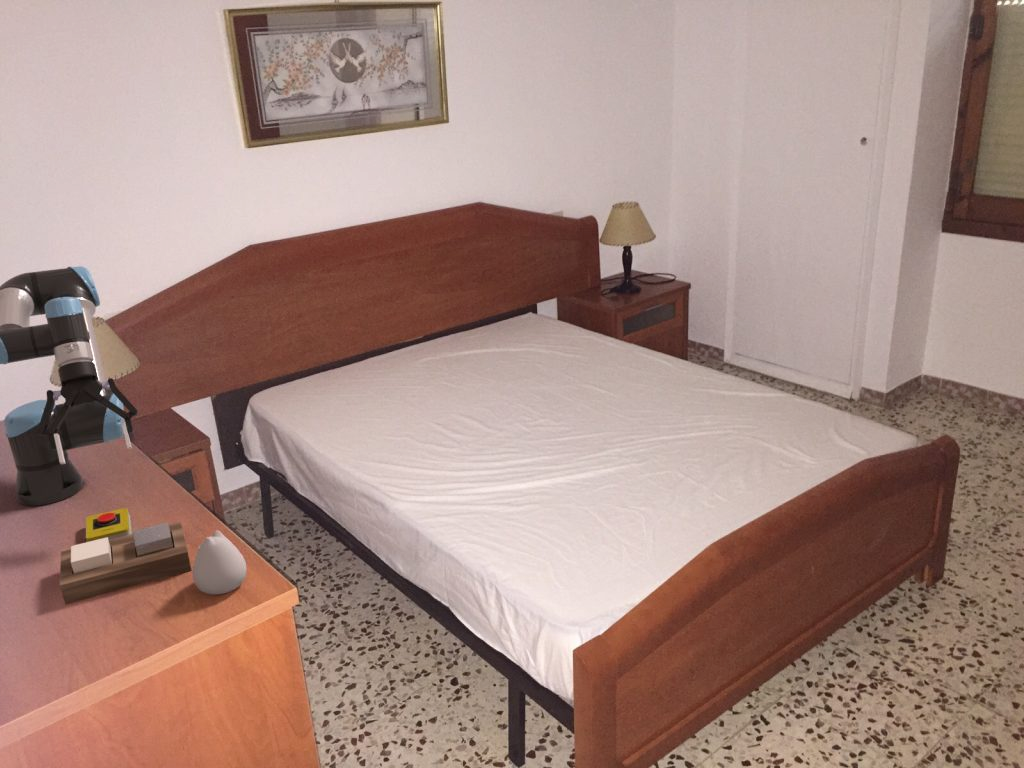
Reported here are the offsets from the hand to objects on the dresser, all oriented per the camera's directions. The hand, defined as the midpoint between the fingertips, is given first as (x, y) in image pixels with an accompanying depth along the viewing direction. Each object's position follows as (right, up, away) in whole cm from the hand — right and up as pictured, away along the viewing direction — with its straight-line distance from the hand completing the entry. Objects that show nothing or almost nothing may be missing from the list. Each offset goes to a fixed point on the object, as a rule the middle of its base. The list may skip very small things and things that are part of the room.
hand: (96, 455), depth 184 cm
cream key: (+5, -21, -12) cm, 25 cm away
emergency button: (0, -19, +7) cm, 20 cm away
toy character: (+33, -25, -15) cm, 44 cm away
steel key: (+16, -19, -7) cm, 26 cm away
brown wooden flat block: (+11, -24, -8) cm, 27 cm away
